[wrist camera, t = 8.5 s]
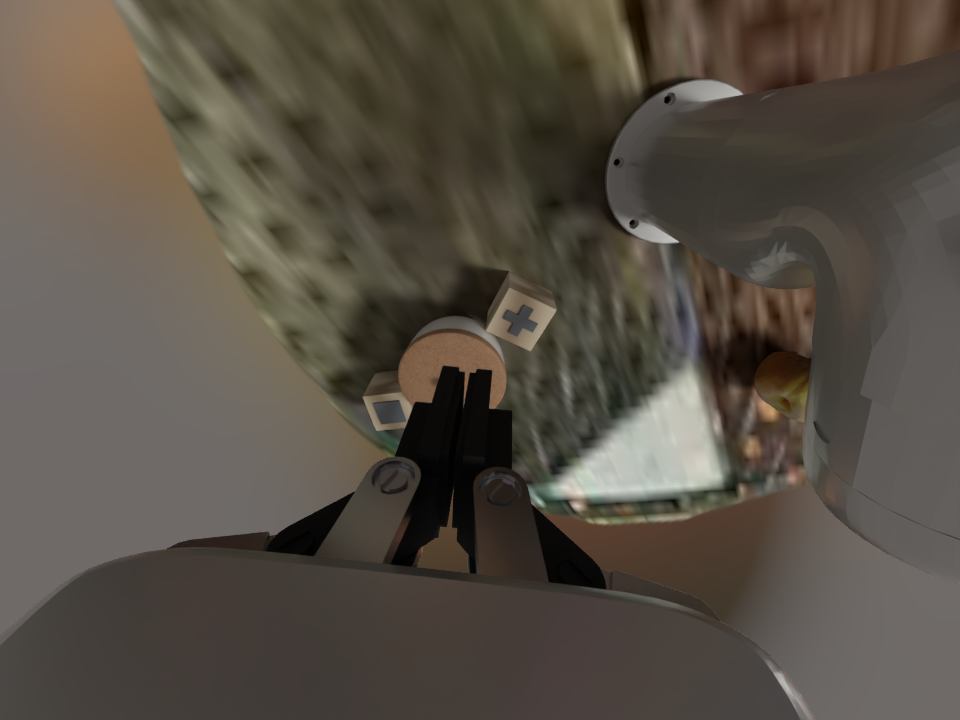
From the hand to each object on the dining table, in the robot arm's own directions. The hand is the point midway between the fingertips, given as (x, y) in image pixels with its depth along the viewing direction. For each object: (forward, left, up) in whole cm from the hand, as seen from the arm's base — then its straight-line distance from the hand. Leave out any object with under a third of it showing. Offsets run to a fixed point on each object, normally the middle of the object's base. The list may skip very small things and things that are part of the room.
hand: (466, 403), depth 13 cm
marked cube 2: (-4, +7, -28) cm, 29 cm away
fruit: (-34, +11, -28) cm, 46 cm away
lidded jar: (+2, +13, -28) cm, 31 cm away
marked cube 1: (+9, +20, -28) cm, 36 cm away
